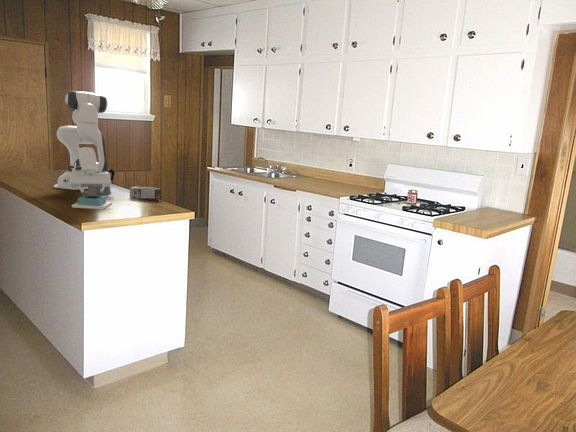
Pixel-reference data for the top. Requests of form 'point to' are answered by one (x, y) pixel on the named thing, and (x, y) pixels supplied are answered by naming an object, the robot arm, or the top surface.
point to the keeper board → (92, 202)
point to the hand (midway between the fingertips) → (92, 192)
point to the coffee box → (145, 193)
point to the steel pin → (92, 192)
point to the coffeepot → (106, 189)
